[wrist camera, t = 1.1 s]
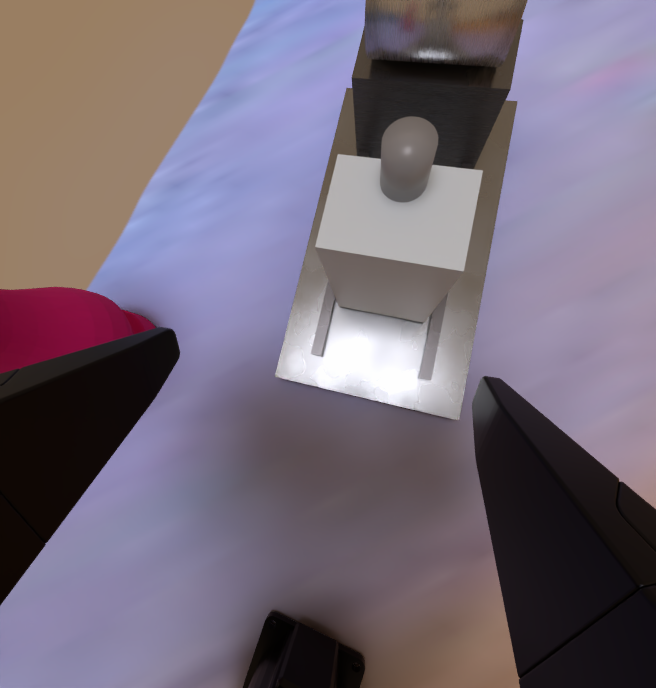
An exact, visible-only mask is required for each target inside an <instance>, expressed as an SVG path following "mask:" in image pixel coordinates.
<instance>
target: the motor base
mask: <svg viewBox="0 0 656 688" xmlns="http://www.w3.org/2000/svg"><path fill="white" fill-rule="evenodd" d="M526 3H527V0H366V7H365V26H364V31H363V35H362V39H361V43H360V47H359V51H358V55H357V59H356V63H355V67H354V71H353V75H352V88H347V89H346V93H345V97H344V101H343V105H342V109H341V113H340V117H339V121H338V125H337V129H336V133H335V137H334V141H333V145H332V149H331V153H330V157H329V161H328V165H327V169H326V173H325V177H324V181H323V185H322V189H321V193H320V197H319V201H318V205H317V209H316V213H315V217H314V221H313V225H312V230H311V234H310V238H309V242H308V246H307V250H306V254H305V258H304V262H303V266H302V270H301V274H300V278H299V282H298V286H297V290H296V294H295V298H294V302H293V306H292V310H291V314H290V318H289V322H288V326H287V330H286V334H285V338H284V342H283V346H282V350H281V354H280V358H279V362H278V366H277V370H276V374H275V377H278V378H283V379H287V380H291V381H295V382H299V383H303V384H308V385H312V386H316V387H320V388H324V389H329V390H333V391H337V392H341V393H345V394H350V395H354V396H358V397H362V398H366V399H371V400H375V401H379V402H383V403H387V404H392V405H396V406H400V407H404V408H408V409H413V410H417V411H421V412H425V413H429V414H434V415H438V416H442V417H446V418H450V419H455V420H459V418H460V412H461V407H462V401H463V396H464V391H465V385H466V380H467V374H468V369H469V363H470V358H471V352H472V347H473V341H474V336H475V330H476V325H477V319H478V314H479V308H480V303H481V298H482V292H483V287H484V281H485V276H486V270H487V265H488V259H489V254H490V248H491V243H492V237H493V232H494V226H495V221H496V215H497V210H498V205H499V199H500V194H501V188H502V183H503V177H504V172H505V166H506V161H507V155H508V150H509V144H510V139H511V133H512V128H513V122H514V117H515V111H516V106H517V101H506V98H507V95H508V93H509V91H510V88H511V83H512V78H513V72H514V67H515V62H516V56H517V51H518V46H519V40H520V35H521V29H522V24H523V20H522V19H521V18H522V15H523V12H524V9H525V6H526ZM411 116H414V117H420V118H423V119H426V120H427V121H429V122H430V123H431V124H432V125H433V126H434V127H435V129H436V131H437V133H438V146H437V150H436V153H435V157H434V161H433V164H432V165H439V166H448V167H456V168H465V169H474V170H483V173H482V179H481V184H480V189H479V194H478V199H477V205H476V210H475V215H474V220H473V226H472V231H471V236H470V241H469V247H468V252H467V257H466V262H465V268H464V272H463V273H462V274H461V276H460V277H459V278H458V280H457V281H456V282H455V283H454V285H453V286H452V287H451V289H450V290H449V291H448V292H447V294H446V295H445V296H444V298H443V299H442V300H441V302H440V303H439V304H438V305H437V307H436V308H435V309H434V311H433V312H432V313H431V315H430V316H429V317H428V318H427V320H426V321H425V322H424V323H423V322H417V321H412V320H407V319H402V318H397V317H392V316H386V315H381V314H376V313H371V312H366V311H361V310H355V309H350V308H345V307H340V306H338V303H337V301H336V298H335V296H334V293H333V291H332V288H331V286H330V283H329V281H328V278H327V276H326V273H325V271H324V268H323V266H322V263H321V261H320V258H319V256H318V253H317V251H316V248H315V245H316V241H317V237H318V233H319V229H320V225H321V221H322V217H323V213H324V209H325V204H326V200H327V196H328V192H329V188H330V184H331V180H332V176H333V172H334V168H335V164H336V160H337V156H338V154H342V155H350V156H359V157H368V158H377V159H381V144H382V137H383V134H384V132H385V131H386V129H387V128H388V127H389V126H390V125H391V124H392V123H393V122H395V121H396V120H398V119H401V118H404V117H411Z"/></svg>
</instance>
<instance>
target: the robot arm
mask: <svg viewBox="0 0 656 688" xmlns="http://www.w3.org/2000/svg"><path fill="white" fill-rule="evenodd" d="M179 356H180V350H179V346H178V342H177V338H176V334H175V332H174V331H173V330H172V329H169V328H163V327H158V328H154V329H151V330H148V331H144V332H141V333H137V334H134V335H131V336H127V337H124V338H120V339H117V340H113V341H110V342H107V343H103V344H100V345H96V346H93V347H90V348H86V349H83V350H79V351H76V352H73V353H69V354H66V355H62V356H59V357H56V358H52V359H49V360H45V361H42V362H39V363H35V364H32V365H28V366H25V367H22V368H21V369H14V370H11V371H8V372H4V373H1V374H0V605H1V604H2V602H3V601H4V600H5V598H6V597H7V596H8V594H9V593H10V592H11V590H12V589H13V588H14V586H15V585H16V584H17V582H18V581H19V580H20V578H21V577H22V576H23V574H24V573H25V572H26V570H27V569H28V568H29V566H30V565H31V564H32V562H33V561H34V560H35V558H36V557H37V556H38V554H39V553H40V552H41V550H42V549H43V548H44V546H45V545H46V544H45V543H47V542H48V541H49V539H50V538H51V537H52V535H53V534H54V533H55V531H56V530H57V529H58V527H59V526H60V525H61V523H62V522H63V521H64V519H65V518H66V517H67V515H68V514H69V513H70V511H71V510H72V509H73V507H74V506H75V505H76V503H77V502H78V500H79V499H80V498H81V496H82V495H83V494H84V492H85V491H86V490H87V488H88V487H89V486H90V484H91V483H92V482H93V480H94V479H95V478H96V476H97V475H98V474H99V472H100V471H101V470H102V468H103V467H104V466H105V464H106V463H107V462H108V460H109V459H110V458H111V456H112V455H113V454H114V452H115V451H116V450H117V448H118V447H119V446H120V444H121V443H122V442H123V440H124V439H125V438H126V436H127V435H128V434H129V432H130V431H131V430H132V428H133V427H134V426H135V424H136V423H137V422H138V420H139V419H140V418H141V416H142V415H143V414H144V412H145V411H146V410H147V408H148V407H149V406H150V404H151V403H152V402H153V400H154V399H155V397H156V396H157V394H158V393H159V391H160V389H161V388H162V386H163V384H164V383H165V381H166V379H167V378H168V376H169V374H170V373H171V371H172V369H173V368H174V366H175V364H176V363H177V361H178V359H179ZM472 413H473V428H474V444H475V456H476V463H477V469H478V474H479V479H480V484H481V489H482V494H483V500H484V505H485V510H486V515H487V520H488V525H489V530H490V535H491V540H492V545H493V551H494V556H495V561H496V566H497V571H498V576H499V581H500V586H501V591H502V596H503V601H504V607H505V612H506V617H507V622H508V627H509V632H510V637H511V642H512V647H513V652H514V658H515V663H516V668H517V673H518V677H519V678H520V679H519V684H520V688H656V509H655V508H654V507H652V506H651V505H650V504H649V503H647V502H646V501H645V500H644V499H643V498H641V497H640V496H639V495H638V494H637V493H635V492H634V491H633V490H632V489H631V488H630V487H628V486H627V485H626V484H625V483H624V482H619V478H618V477H616V476H615V475H614V474H613V473H612V472H610V471H609V470H608V469H607V468H606V467H604V466H603V465H602V464H601V463H600V462H599V461H597V460H596V459H595V458H594V457H593V456H591V455H590V454H589V453H588V452H587V451H586V450H584V449H583V448H582V447H581V446H580V445H578V444H577V443H576V442H575V441H574V440H572V439H571V438H570V437H569V436H568V435H567V434H565V433H564V432H563V431H562V430H561V429H559V428H558V427H557V426H556V425H555V424H554V423H552V422H551V421H550V420H549V419H548V418H546V417H545V416H544V415H543V414H542V413H540V412H539V411H538V410H537V409H536V408H535V407H533V406H532V405H531V404H530V403H529V402H527V401H526V400H525V399H524V398H523V397H522V396H520V395H519V394H518V393H517V392H516V391H514V390H513V389H512V388H511V387H510V386H508V385H507V384H506V383H505V382H504V381H503V380H501V379H500V378H495V377H488V376H484V377H482V379H481V380H480V383H479V385H478V388H477V391H476V393H475V396H474V399H473V403H472ZM271 620H274V621H275V622H276V625H273V624H272V623H271ZM355 662H356V663H358V664H360V666H358V667H357V666H354V665H353V663H355ZM364 671H365V660H364V658H363V656H362V655H361V654H360V653H358V652H356V651H354V650H352V649H350V648H348V647H346V646H344V645H342V644H340V643H338V642H336V640H334V639H332V638H330V637H328V636H326V635H324V634H322V633H320V632H318V631H316V630H314V629H312V628H310V627H308V626H306V625H304V624H302V623H297V622H295V621H293V620H291V619H289V618H287V617H285V616H283V615H281V614H279V613H277V612H270V613H269V614H268V616H267V618H266V620H265V623H264V626H263V629H262V632H261V635H260V638H259V641H258V643H257V646H256V649H255V652H254V655H253V658H252V661H251V664H250V667H249V670H248V673H247V676H246V679H245V682H244V685H243V688H360V684H361V681H362V678H363V674H364Z"/></svg>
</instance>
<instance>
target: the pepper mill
mask: <svg viewBox="0 0 656 688" xmlns="http://www.w3.org/2000/svg"><path fill="white" fill-rule="evenodd" d="M154 328H155V326H154V325H153V324H152V323H151V322H150V321H149V320H148V319H146V318H144V317H143V316H140V315H138V314H134V313H131V312H128V311H125V310H121V309H120V308H119V306H118V305H116V304H115V303H114V302H113V301H112V300H110V299H108V298H106V297H105V296H102V295H100V294H97V293H93V292H90V291H86V290H81V289H75V288H64V287H48V288H36V289H19V290H4V289H0V374H1V373H4V372H8V371H11V370H14V369H21V368H22V367H25V366H28V365H32V364H35V363H39V362H42V361H45V360H49V359H52V358H56V357H59V356H62V355H66V354H69V353H73V352H76V351H79V350H83V349H86V348H90V347H93V346H96V345H100V344H103V343H107V342H110V341H113V340H117V339H120V338H124V337H127V336H131V335H134V334H137V333H141V332H144V331H148V330H151V329H154Z"/></svg>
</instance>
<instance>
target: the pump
mask: <svg viewBox="0 0 656 688" xmlns="http://www.w3.org/2000/svg"><path fill="white" fill-rule="evenodd" d="M437 146H438V133H437V131H436V129H435V127H434V126H433V125H432V124H431V123H430V122H429V121H427V120H426V119H423V118H420V117H414V116H411V117H404V118H401V119H398V120H396V121H395V122H393V123H392V124H391V125H390V126H389V127H388V128H387V129H386V131H385V132H384V134H383V137H382V144H381V159H377V158H368V157H359V156H350V155H342V154H338V156H337V160H336V164H335V168H334V172H333V176H332V180H331V184H330V188H329V192H328V196H327V200H326V204H325V209H324V213H323V217H322V221H321V225H320V229H319V233H318V237H317V241H316V245H315V248H316V251H317V253H318V256H319V258H320V261H321V263H322V266H323V268H324V271H325V273H326V276H327V278H328V281H329V283H330V286H331V288H332V291H333V293H334V296H335V298H336V301H337V303H338V306H340V307H345V308H350V309H355V310H361V311H366V312H371V313H376V314H381V315H386V316H392V317H397V318H402V319H407V320H412V321H417V322H423V323H424V322H425V321H426V320H427V318H428V317H429V316H430V315H431V313H432V312H433V311H434V309H435V308H436V307H437V305H438V304H439V303H440V302H441V300H442V299H443V298H444V296H445V295H446V294H447V292H448V291H449V290H450V289H451V287H452V286H453V285H454V283H455V282H456V281H457V280H458V278H459V277H460V276H461V274H462V273H463V272H464V268H465V262H466V257H467V252H468V247H469V241H470V236H471V231H472V226H473V220H474V215H475V210H476V205H477V199H478V194H479V189H480V184H481V179H482V173H483V170H474V169H465V168H456V167H448V166H439V165H432V164H433V161H434V157H435V153H436V150H437Z"/></svg>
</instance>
